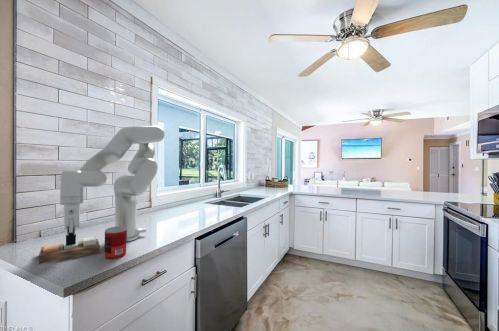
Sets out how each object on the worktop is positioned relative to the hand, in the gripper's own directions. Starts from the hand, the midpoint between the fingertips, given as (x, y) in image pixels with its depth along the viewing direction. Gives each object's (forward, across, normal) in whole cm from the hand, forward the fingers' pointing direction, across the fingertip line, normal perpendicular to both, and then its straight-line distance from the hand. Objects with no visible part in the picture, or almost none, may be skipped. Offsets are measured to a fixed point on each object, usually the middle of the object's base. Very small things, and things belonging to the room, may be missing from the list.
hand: (70, 244), depth 94 cm
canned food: (+4, -12, -15) cm, 19 cm away
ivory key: (+2, 0, -6) cm, 7 cm away
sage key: (+3, 0, 0) cm, 3 cm away
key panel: (+4, 0, 0) cm, 4 cm away
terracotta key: (+3, 0, +6) cm, 7 cm away
